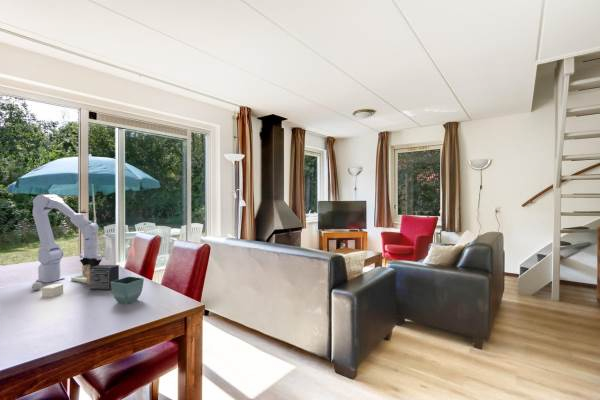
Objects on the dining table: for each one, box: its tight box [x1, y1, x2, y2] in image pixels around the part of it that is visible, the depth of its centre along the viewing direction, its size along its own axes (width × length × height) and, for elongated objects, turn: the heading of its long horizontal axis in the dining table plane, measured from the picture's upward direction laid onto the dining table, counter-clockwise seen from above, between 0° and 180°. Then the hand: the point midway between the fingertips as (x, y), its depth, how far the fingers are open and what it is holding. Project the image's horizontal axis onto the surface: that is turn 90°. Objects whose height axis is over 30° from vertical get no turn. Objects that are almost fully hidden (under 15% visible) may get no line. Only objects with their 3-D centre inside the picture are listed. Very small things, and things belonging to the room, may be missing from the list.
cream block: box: [41, 283, 64, 298], centre depth 130 cm, size 5×5×4 cm
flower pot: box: [111, 276, 145, 305], centre depth 122 cm, size 9×9×9 cm
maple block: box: [81, 264, 90, 278], centre depth 153 cm, size 4×4×6 cm
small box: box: [89, 264, 120, 291], centre depth 140 cm, size 11×6×10 cm, turn 84°
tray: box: [70, 274, 87, 284], centre depth 154 cm, size 12×12×2 cm
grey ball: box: [31, 281, 43, 291], centre depth 137 cm, size 4×4×4 cm
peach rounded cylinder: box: [86, 273, 90, 286], centre depth 146 cm, size 4×4×5 cm
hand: (90, 272), depth 154 cm, fingers closed on maple block, 4 cm apart
